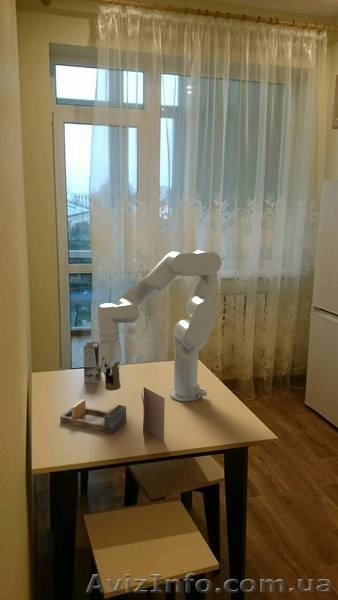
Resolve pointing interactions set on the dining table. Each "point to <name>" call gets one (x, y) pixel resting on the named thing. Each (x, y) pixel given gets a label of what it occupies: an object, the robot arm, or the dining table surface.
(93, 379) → the coffee box
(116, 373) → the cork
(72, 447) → the dining table surface
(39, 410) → the dining table surface
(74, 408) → the pusher
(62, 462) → the dining table surface
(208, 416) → the dining table surface
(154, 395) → the greeting card
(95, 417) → the lane
